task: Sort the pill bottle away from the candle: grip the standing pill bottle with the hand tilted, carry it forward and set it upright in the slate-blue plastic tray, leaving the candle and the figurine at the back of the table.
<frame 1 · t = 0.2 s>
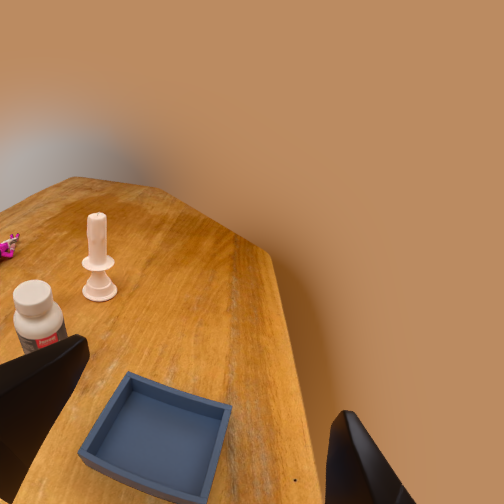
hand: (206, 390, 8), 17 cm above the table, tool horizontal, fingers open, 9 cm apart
character figurine: (3, 256, 36), on the table
pill bottle: (53, 367, 23), on the table
tray: (159, 445, 19), on the table
candle: (99, 292, 37), on the table
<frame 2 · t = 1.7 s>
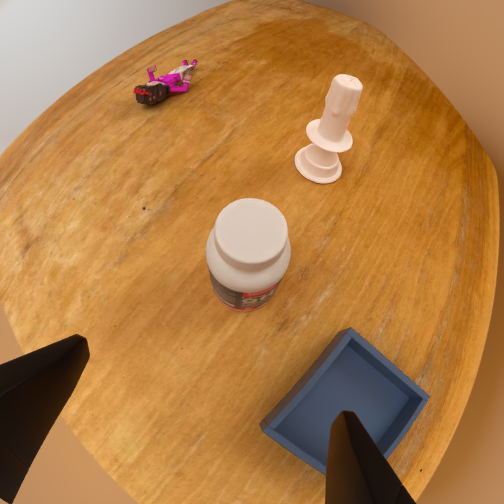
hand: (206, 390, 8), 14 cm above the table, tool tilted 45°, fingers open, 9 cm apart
character figurine: (171, 89, 34), on the table
pill bottle: (244, 282, 24), on the table
tray: (344, 412, 20), on the table
candle: (317, 165, 30), on the table
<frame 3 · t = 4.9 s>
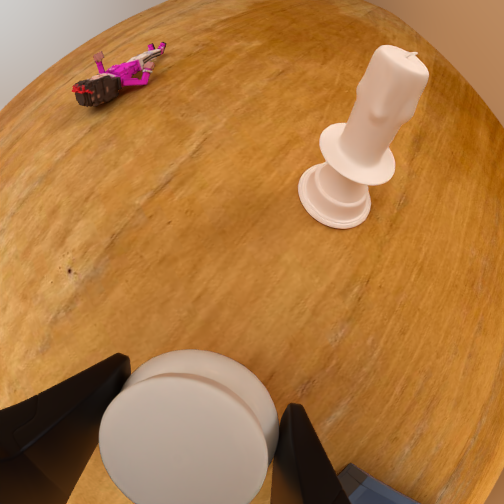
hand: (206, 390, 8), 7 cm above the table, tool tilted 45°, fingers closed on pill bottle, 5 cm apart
character figurine: (129, 82, 24), on the table
pill bottle: (211, 401, 14), on the table, touching gripper
candle: (334, 196, 19), on the table
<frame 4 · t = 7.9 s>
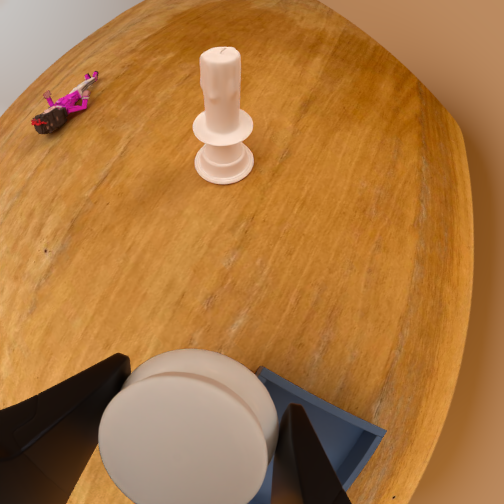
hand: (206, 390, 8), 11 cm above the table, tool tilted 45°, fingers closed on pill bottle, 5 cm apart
character figurine: (74, 109, 28), on the table
pill bottle: (211, 400, 14), point 5 cm above the table, touching gripper
tray: (281, 454, 17), on the table
candle: (224, 162, 25), on the table
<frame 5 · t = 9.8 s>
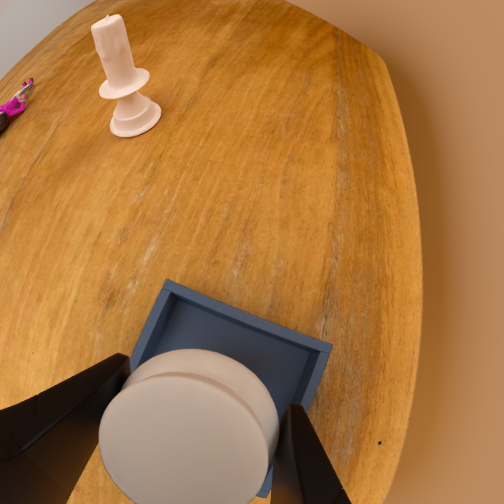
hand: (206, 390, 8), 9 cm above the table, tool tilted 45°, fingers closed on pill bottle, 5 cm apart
character figurine: (14, 113, 26), on the table
pill bottle: (211, 400, 14), point 2 cm above the table, touching gripper
tray: (216, 391, 16), on the table
candle: (135, 120, 24), on the table
when the fingers open (7 cm above the table, at t = 10.9 s): pill bottle stays where it is, resting on tray.
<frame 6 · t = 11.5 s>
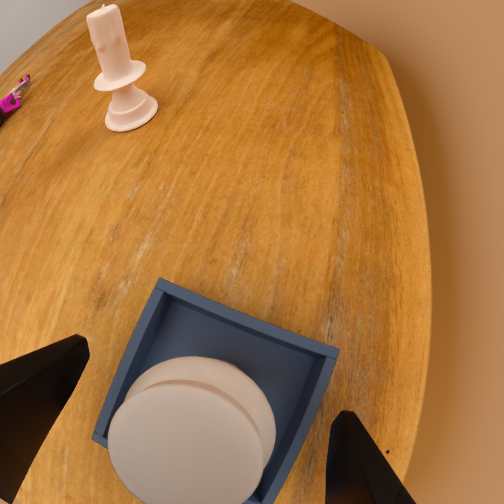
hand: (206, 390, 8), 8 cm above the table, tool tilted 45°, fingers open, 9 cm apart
character figurine: (10, 110, 24), on the table
pill bottle: (212, 403, 15), resting on tray
tray: (213, 400, 15), on the table
candle: (131, 114, 23), on the table
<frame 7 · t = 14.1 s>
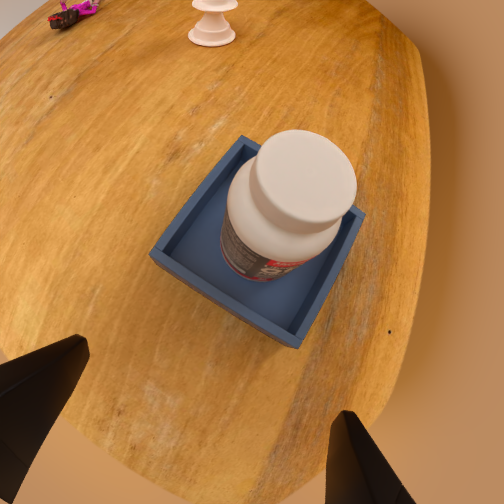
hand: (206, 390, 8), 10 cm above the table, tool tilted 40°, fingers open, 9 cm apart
character figurine: (83, 15, 25), on the table
pill bottle: (259, 244, 19), resting on tray
tray: (260, 243, 20), on the table
candle: (211, 36, 25), on the table
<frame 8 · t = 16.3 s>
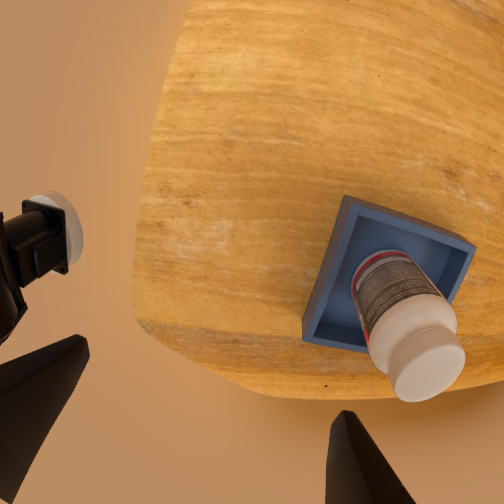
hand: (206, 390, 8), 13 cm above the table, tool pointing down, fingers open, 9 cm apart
pill bottle: (383, 280, 20), resting on tray
tray: (384, 278, 20), on the table
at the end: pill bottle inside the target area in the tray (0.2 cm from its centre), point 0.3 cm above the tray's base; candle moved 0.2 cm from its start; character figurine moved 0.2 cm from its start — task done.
